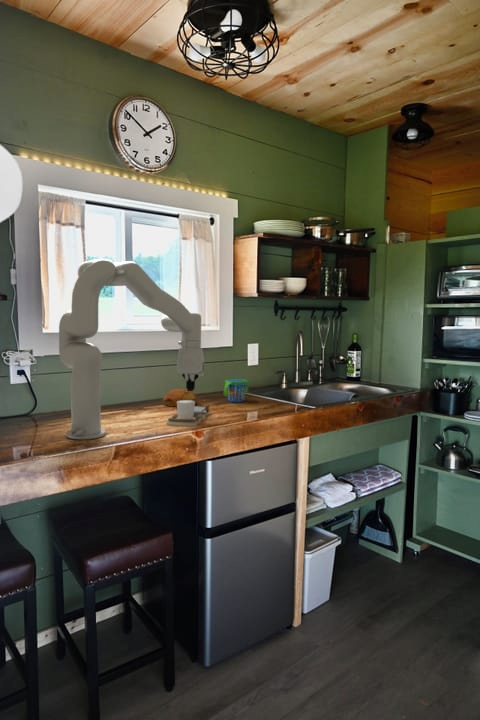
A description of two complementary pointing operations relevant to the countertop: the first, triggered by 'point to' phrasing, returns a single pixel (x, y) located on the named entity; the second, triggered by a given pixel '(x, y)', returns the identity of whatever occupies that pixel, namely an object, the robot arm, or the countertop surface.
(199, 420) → the jig board
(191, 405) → the white tapered cup
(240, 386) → the snack cup
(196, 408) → the flap
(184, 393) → the croissant
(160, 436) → the countertop surface
